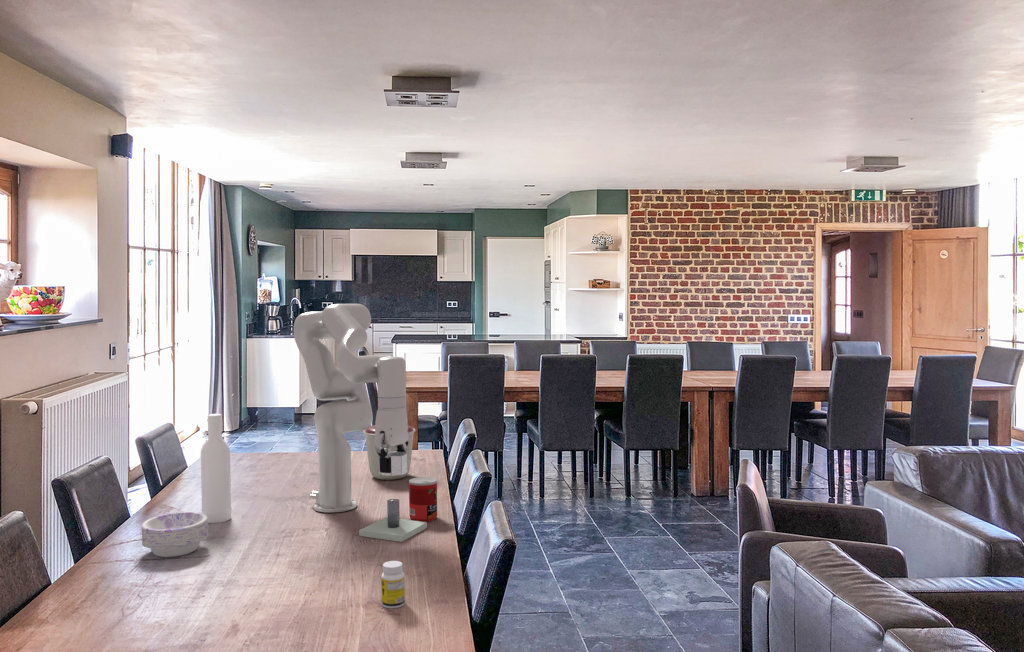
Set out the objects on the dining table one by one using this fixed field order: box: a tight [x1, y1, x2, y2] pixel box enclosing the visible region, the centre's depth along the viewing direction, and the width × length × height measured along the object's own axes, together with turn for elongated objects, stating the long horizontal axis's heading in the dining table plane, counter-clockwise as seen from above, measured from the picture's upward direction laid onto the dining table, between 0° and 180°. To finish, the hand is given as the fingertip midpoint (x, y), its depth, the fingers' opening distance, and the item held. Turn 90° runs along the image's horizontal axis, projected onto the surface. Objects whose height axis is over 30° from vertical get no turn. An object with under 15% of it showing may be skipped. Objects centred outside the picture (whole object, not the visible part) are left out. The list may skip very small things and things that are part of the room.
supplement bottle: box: [380, 560, 406, 609], centre depth 157 cm, size 5×5×8 cm
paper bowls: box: [141, 511, 209, 558], centre depth 191 cm, size 15×15×8 cm
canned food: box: [408, 476, 438, 523], centre depth 219 cm, size 8×8×11 cm
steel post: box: [386, 498, 401, 528], centre depth 206 cm, size 3×3×7 cm
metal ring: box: [379, 451, 407, 476], centre depth 205 cm, size 7×7×5 cm
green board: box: [358, 516, 428, 543], centre depth 206 cm, size 13×13×2 cm
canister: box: [362, 424, 416, 481], centre depth 269 cm, size 18×18×21 cm
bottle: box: [200, 413, 233, 524], centre depth 218 cm, size 8×8×30 cm
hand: (393, 469), depth 206 cm, fingers closed on metal ring, 7 cm apart
